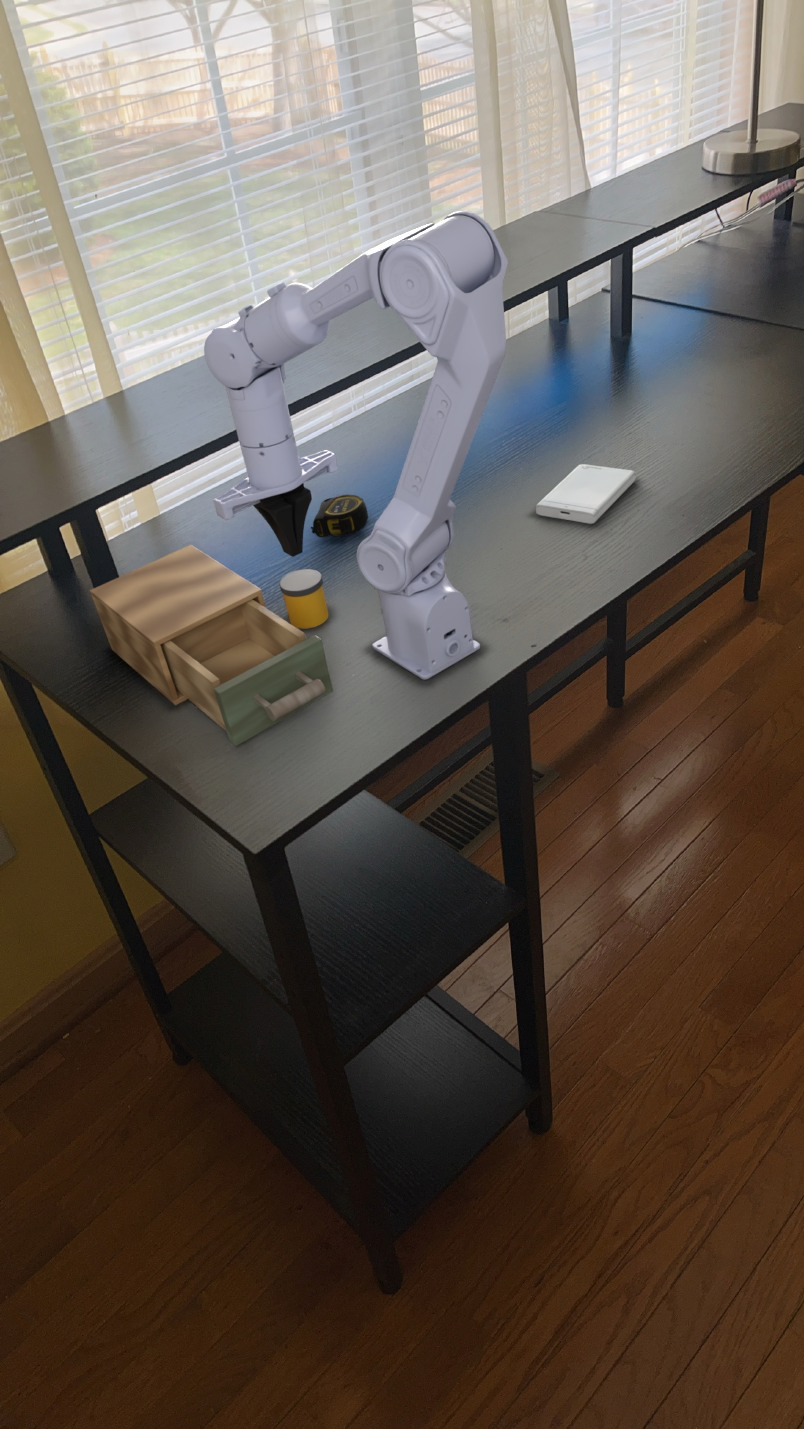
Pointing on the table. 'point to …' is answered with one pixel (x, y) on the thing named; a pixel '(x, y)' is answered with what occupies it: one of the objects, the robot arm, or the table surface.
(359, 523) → the tape measure
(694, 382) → the table surface
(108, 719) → the table surface
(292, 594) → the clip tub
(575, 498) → the hard drive
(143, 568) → the cabinet
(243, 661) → the drawer
